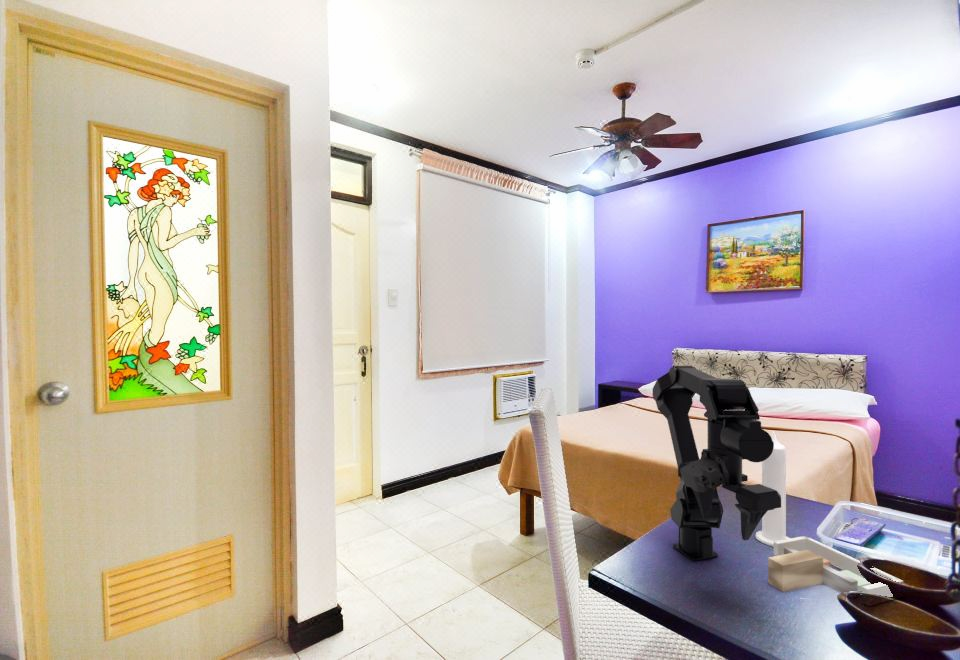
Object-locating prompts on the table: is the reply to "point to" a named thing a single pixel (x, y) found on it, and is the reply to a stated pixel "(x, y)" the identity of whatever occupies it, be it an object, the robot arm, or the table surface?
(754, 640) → the table surface
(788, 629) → the table surface
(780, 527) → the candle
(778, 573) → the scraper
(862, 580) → the tile sage
